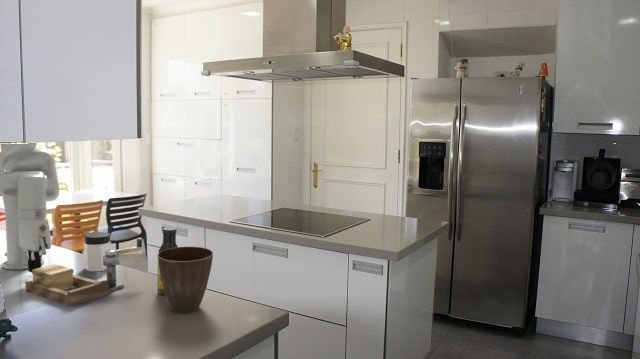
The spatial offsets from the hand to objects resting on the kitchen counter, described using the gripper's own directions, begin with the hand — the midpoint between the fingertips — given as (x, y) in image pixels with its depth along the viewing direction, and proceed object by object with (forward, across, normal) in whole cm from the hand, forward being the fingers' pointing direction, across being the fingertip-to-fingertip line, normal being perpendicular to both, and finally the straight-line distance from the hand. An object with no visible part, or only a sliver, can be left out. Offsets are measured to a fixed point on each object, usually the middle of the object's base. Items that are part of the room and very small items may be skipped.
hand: (34, 271), depth 155 cm
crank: (-6, -24, -14) cm, 29 cm away
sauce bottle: (+4, -40, -17) cm, 44 cm away
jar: (+4, -2, -21) cm, 22 cm away
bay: (+4, -15, 0) cm, 16 cm away
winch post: (+4, -23, -10) cm, 26 cm away
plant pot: (+4, -54, -10) cm, 55 cm away
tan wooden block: (+4, -9, 0) cm, 10 cm away
